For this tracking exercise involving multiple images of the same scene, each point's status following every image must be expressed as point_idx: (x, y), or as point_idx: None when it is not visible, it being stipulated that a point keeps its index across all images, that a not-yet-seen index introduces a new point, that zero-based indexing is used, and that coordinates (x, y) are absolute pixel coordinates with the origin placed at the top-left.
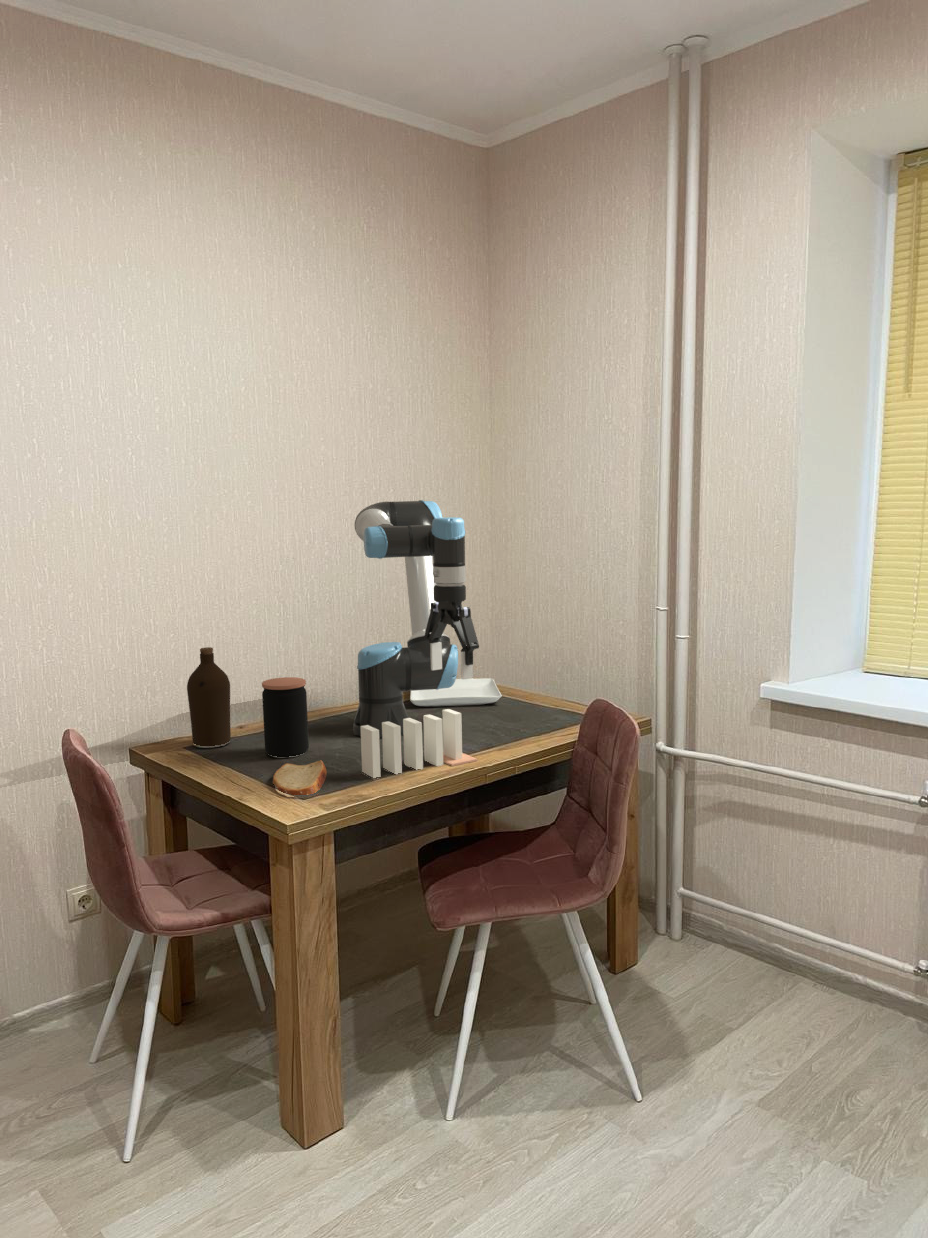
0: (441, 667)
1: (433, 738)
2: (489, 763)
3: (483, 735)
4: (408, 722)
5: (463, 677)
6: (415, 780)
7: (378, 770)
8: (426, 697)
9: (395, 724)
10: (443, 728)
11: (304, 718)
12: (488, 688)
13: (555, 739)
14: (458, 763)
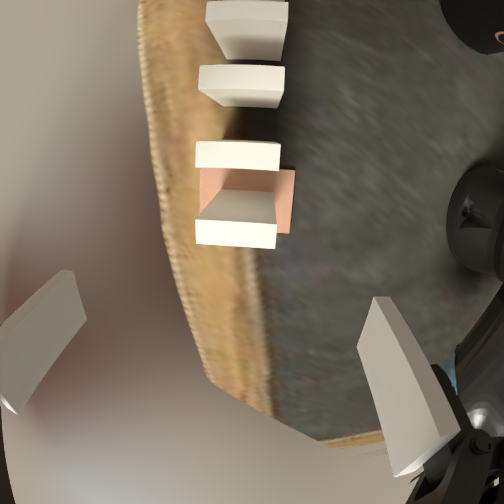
0: (360, 350)
1: (223, 140)
2: (175, 235)
3: (336, 331)
4: (245, 65)
5: (56, 276)
6: (170, 62)
7: None
8: None
9: (234, 17)
10: (271, 207)
11: (487, 11)
12: None
13: (233, 382)
14: (200, 181)
